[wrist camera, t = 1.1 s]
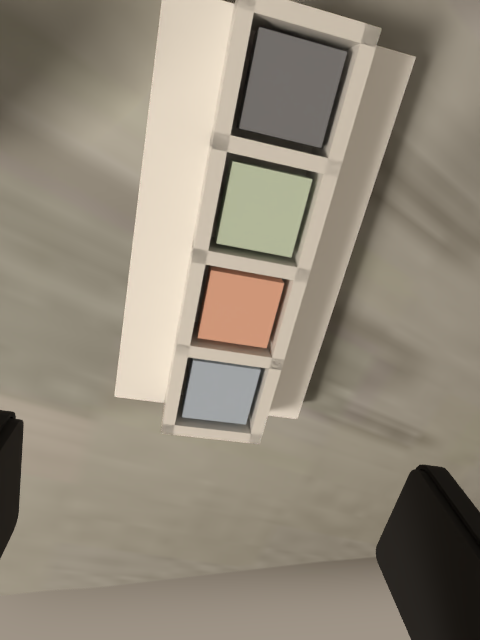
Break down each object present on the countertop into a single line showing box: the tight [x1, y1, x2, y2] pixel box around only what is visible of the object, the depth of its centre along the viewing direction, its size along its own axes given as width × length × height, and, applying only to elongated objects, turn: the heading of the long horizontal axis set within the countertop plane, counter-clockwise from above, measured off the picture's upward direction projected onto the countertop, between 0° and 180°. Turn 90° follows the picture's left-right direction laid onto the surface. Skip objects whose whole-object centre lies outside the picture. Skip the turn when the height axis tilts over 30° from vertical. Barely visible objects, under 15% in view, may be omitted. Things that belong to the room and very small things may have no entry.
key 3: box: [197, 265, 284, 348], centre depth 27 cm, size 4×4×2 cm
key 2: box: [215, 159, 313, 257], centre depth 24 cm, size 4×4×2 cm
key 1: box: [236, 27, 347, 148], centre depth 22 cm, size 4×4×2 cm
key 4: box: [182, 358, 261, 425], centre depth 29 cm, size 4×4×2 cm
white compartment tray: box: [114, 0, 416, 444], centre depth 27 cm, size 25×14×6 cm, turn 168°
